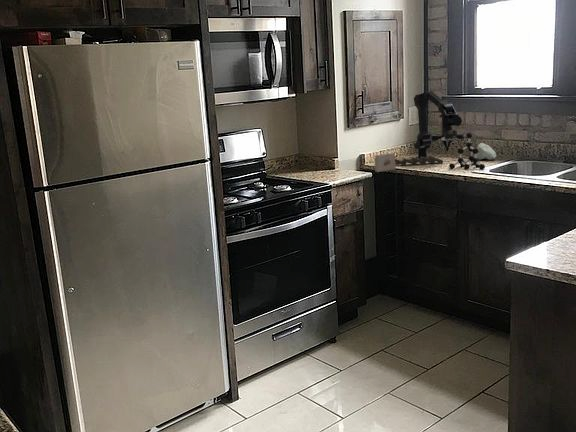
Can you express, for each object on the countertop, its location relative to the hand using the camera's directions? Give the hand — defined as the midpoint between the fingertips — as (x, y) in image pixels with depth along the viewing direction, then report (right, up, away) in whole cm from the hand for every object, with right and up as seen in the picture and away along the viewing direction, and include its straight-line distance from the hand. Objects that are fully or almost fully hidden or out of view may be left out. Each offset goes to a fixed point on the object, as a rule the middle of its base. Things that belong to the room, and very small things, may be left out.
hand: (446, 151), depth 374 cm
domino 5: (-7, -6, +2) cm, 10 cm away
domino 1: (-28, -8, +3) cm, 29 cm away
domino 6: (-3, -6, +2) cm, 7 cm away
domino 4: (-13, -6, +2) cm, 14 cm away
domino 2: (-24, -7, +2) cm, 25 cm away
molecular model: (+9, -11, -16) cm, 22 cm away
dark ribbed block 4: (-18, -7, +2) cm, 19 cm away
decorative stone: (+24, -5, +3) cm, 25 cm away
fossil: (-38, -12, -10) cm, 41 cm away
